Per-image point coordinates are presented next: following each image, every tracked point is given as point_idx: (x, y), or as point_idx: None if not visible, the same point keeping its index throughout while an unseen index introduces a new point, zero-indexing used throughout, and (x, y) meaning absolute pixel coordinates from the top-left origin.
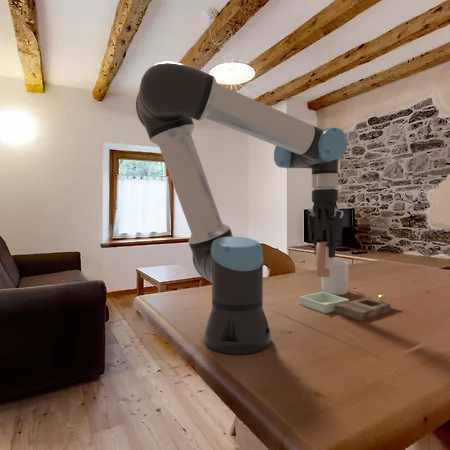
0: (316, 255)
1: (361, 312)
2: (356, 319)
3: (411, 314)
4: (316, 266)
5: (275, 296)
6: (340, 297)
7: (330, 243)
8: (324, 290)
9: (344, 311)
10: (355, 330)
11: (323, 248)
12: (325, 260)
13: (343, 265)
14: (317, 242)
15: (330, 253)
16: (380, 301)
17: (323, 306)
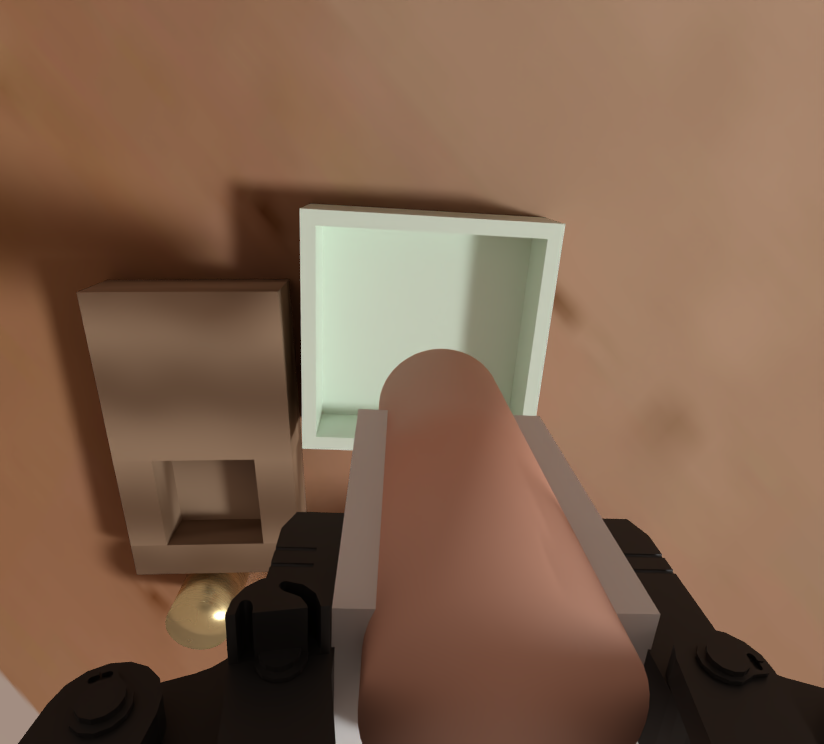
0: (568, 489)
1: (84, 308)
2: (129, 282)
3: (93, 596)
4: (526, 415)
5: (806, 240)
6: None
7: (225, 689)
8: None
9: (209, 287)
10: (17, 139)
11: (401, 551)
12: (381, 457)
13: None
14: (633, 665)
15: (303, 553)
16: (204, 577)
17: (311, 207)
